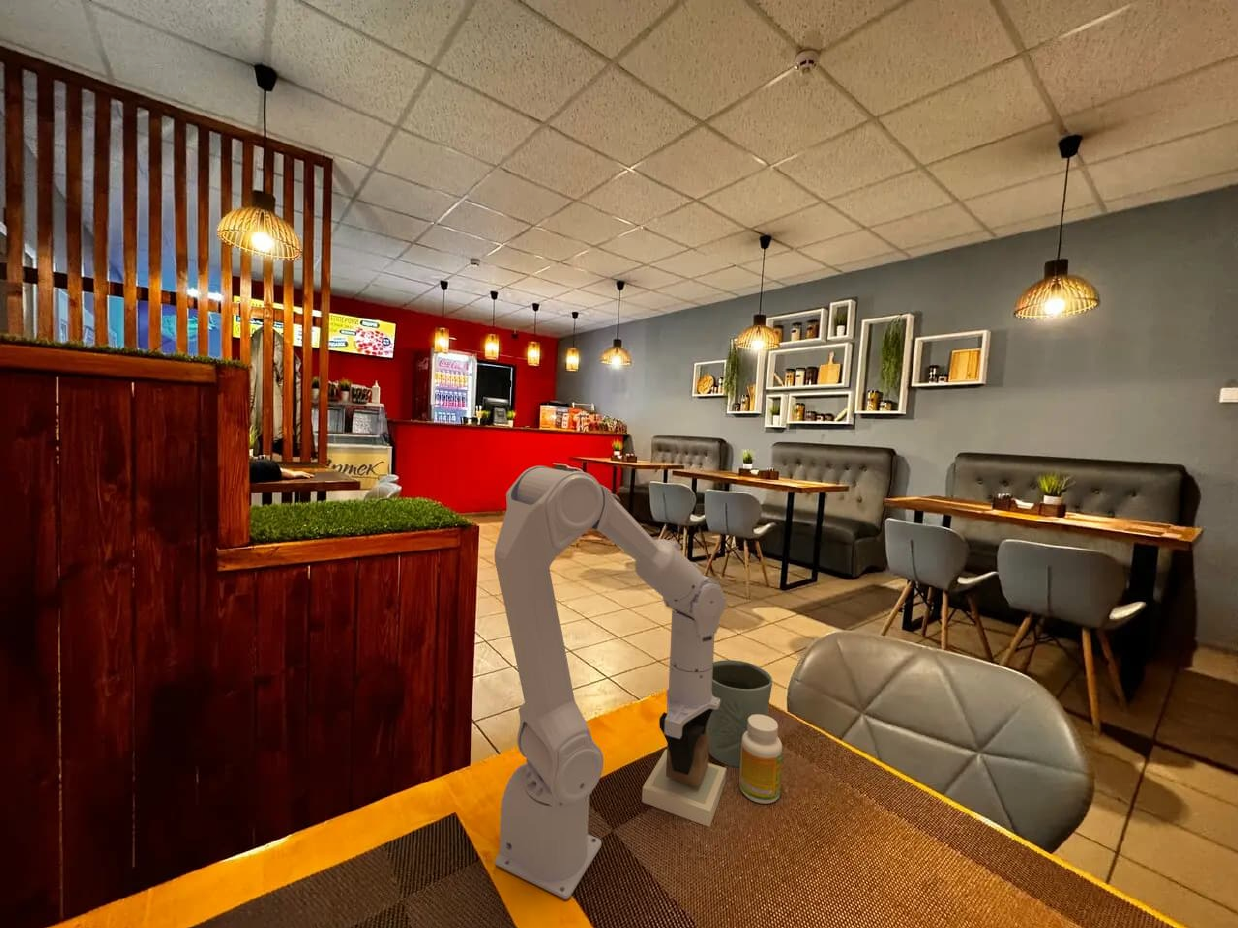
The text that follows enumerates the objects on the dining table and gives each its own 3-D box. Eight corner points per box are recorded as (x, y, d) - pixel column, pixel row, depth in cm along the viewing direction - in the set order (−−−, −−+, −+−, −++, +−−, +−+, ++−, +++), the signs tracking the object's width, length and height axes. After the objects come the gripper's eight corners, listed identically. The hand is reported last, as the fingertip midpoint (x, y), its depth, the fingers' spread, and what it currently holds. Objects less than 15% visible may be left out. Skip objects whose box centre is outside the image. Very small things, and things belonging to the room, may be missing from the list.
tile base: (642, 801, 65) (642, 786, 65) (664, 762, 73) (665, 748, 73) (709, 826, 61) (710, 810, 61) (725, 781, 69) (726, 767, 69)
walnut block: (665, 776, 66) (667, 743, 65) (676, 757, 70) (678, 726, 69) (698, 787, 64) (700, 754, 63) (707, 767, 68) (709, 735, 68)
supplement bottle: (782, 808, 64) (786, 736, 64) (739, 801, 66) (743, 730, 65) (777, 780, 70) (781, 714, 69) (738, 774, 71) (741, 708, 70)
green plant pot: (694, 758, 74) (698, 680, 73) (708, 723, 83) (712, 654, 83) (764, 778, 70) (769, 696, 70) (771, 739, 80) (775, 666, 79)
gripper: (706, 694, 58) (701, 805, 58) (732, 648, 71) (727, 739, 72) (650, 679, 61) (645, 786, 61) (685, 638, 74) (681, 726, 74)
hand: (686, 760), depth 67 cm, fingers closed on walnut block, 4 cm apart
